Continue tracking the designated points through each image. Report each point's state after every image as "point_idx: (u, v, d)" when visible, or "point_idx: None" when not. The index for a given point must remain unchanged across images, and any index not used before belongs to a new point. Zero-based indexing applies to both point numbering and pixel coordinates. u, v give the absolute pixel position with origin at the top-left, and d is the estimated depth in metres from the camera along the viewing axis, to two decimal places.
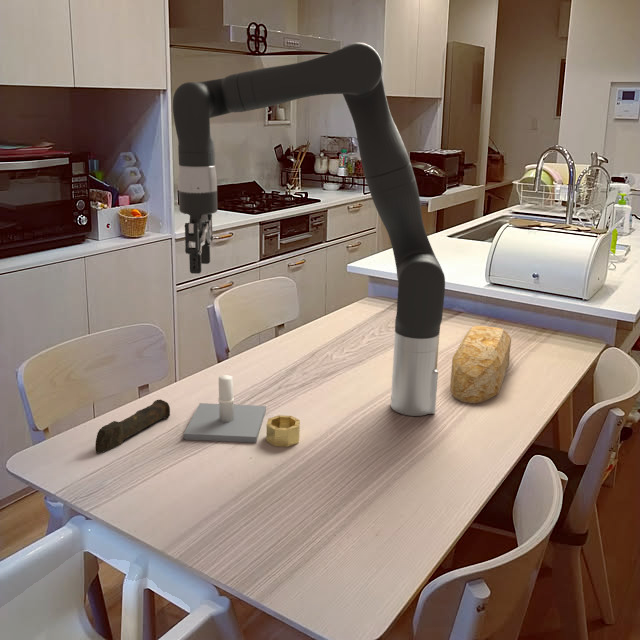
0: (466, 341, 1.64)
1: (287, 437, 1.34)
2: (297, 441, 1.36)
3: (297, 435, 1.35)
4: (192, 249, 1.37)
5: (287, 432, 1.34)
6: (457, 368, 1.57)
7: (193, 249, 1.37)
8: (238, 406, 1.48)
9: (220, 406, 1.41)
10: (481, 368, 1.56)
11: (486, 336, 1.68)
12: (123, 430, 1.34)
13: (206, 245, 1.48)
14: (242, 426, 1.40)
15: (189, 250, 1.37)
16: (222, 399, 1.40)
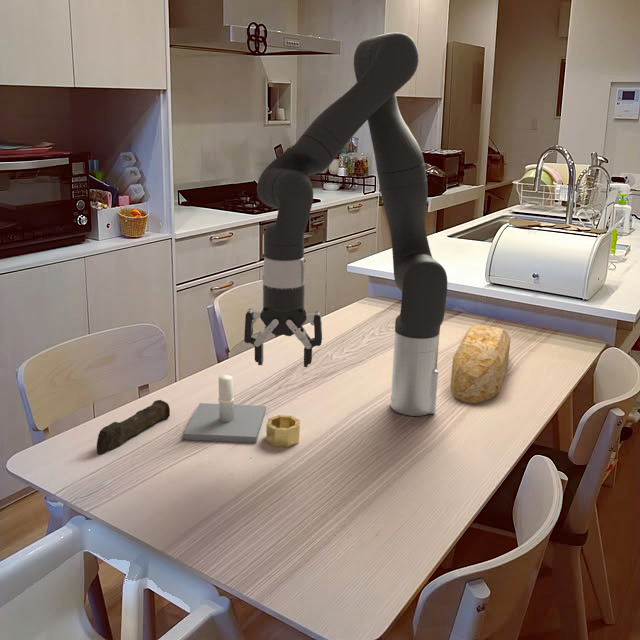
0: (466, 341, 1.64)
1: (287, 437, 1.34)
2: (297, 441, 1.36)
3: (297, 435, 1.35)
4: (321, 338, 1.31)
5: (287, 432, 1.34)
6: (458, 368, 1.57)
7: (321, 338, 1.31)
8: (238, 406, 1.48)
9: (220, 406, 1.41)
10: (482, 367, 1.56)
11: (486, 336, 1.68)
12: (124, 431, 1.34)
13: (262, 343, 1.32)
14: (242, 426, 1.40)
15: (321, 340, 1.30)
16: (222, 399, 1.40)
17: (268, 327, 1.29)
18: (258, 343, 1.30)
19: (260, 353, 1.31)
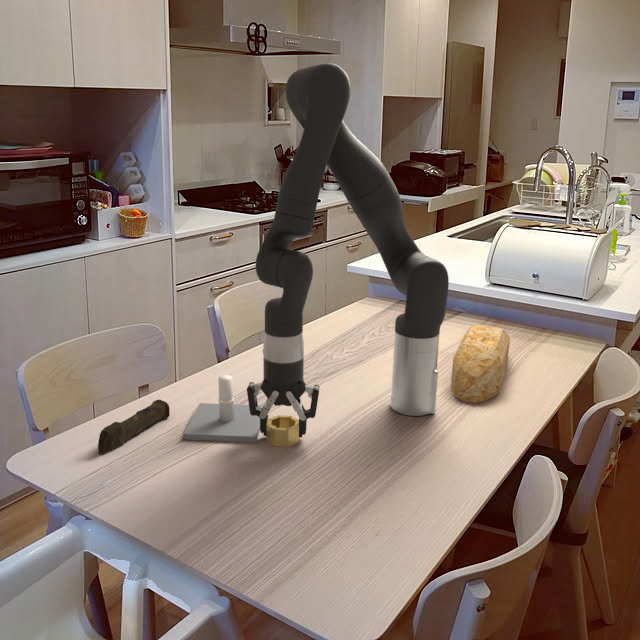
0: (466, 341, 1.64)
1: (287, 437, 1.34)
2: (297, 441, 1.36)
3: (297, 435, 1.35)
4: None
5: (287, 432, 1.34)
6: (458, 368, 1.57)
7: None
8: (238, 406, 1.48)
9: (220, 406, 1.41)
10: (483, 367, 1.56)
11: (486, 336, 1.68)
12: (125, 430, 1.34)
13: (267, 415, 1.37)
14: (242, 426, 1.40)
15: None
16: (222, 399, 1.40)
17: (270, 399, 1.33)
18: (263, 415, 1.35)
19: (265, 425, 1.36)
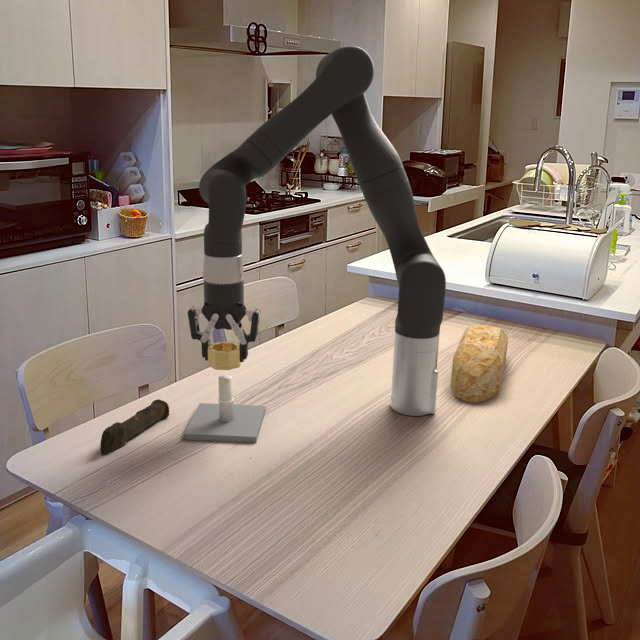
0: (466, 340, 1.65)
1: (227, 360, 1.35)
2: (238, 365, 1.37)
3: (238, 359, 1.37)
4: (255, 335, 1.37)
5: (227, 355, 1.35)
6: (459, 367, 1.58)
7: (256, 334, 1.37)
8: (238, 406, 1.48)
9: (220, 406, 1.41)
10: (483, 367, 1.56)
11: (485, 336, 1.68)
12: (126, 431, 1.34)
13: None
14: (242, 426, 1.40)
15: (255, 337, 1.36)
16: (222, 399, 1.40)
17: (210, 322, 1.35)
18: (204, 339, 1.36)
19: (207, 349, 1.37)
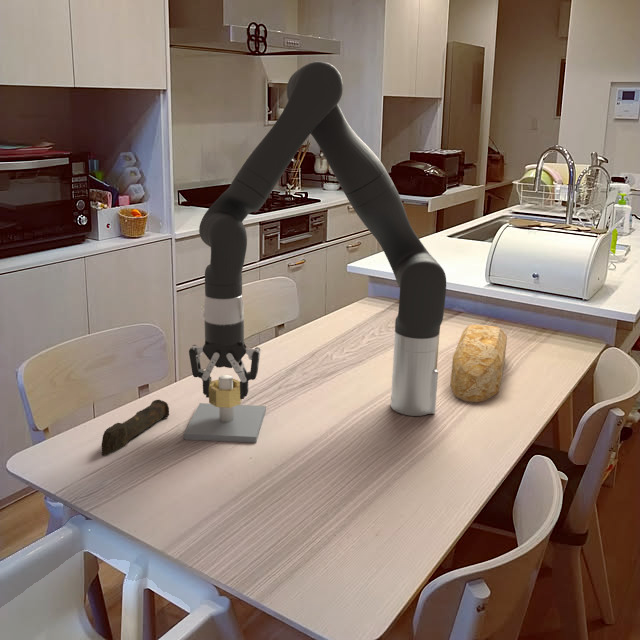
0: (465, 340, 1.65)
1: (228, 398, 1.38)
2: (238, 403, 1.40)
3: (238, 397, 1.39)
4: None
5: (228, 393, 1.37)
6: (459, 367, 1.58)
7: None
8: (238, 406, 1.48)
9: None
10: (483, 367, 1.56)
11: (484, 335, 1.68)
12: (127, 431, 1.33)
13: (210, 377, 1.40)
14: (242, 426, 1.40)
15: (256, 374, 1.39)
16: None
17: (211, 361, 1.37)
18: (205, 377, 1.39)
19: (208, 387, 1.39)
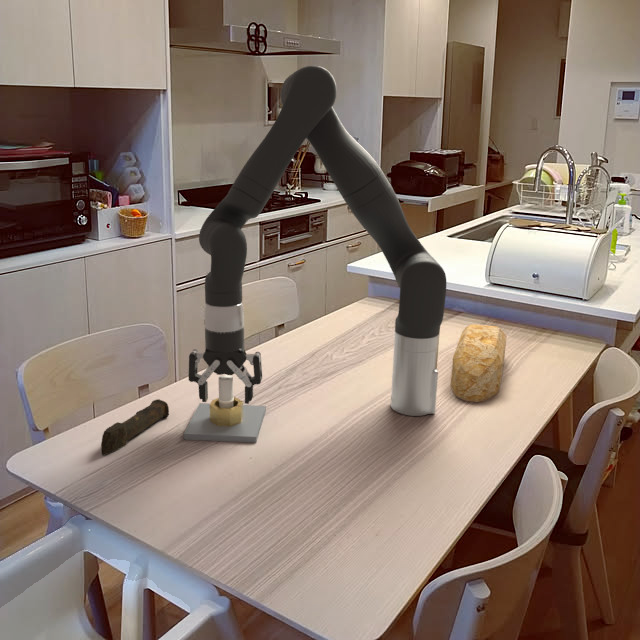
0: (465, 340, 1.65)
1: (229, 417, 1.39)
2: (239, 421, 1.41)
3: (239, 415, 1.40)
4: (260, 377, 1.39)
5: (229, 412, 1.38)
6: (459, 367, 1.58)
7: (260, 377, 1.39)
8: None
9: (220, 406, 1.41)
10: (483, 366, 1.57)
11: (484, 335, 1.68)
12: (127, 431, 1.33)
13: (206, 381, 1.41)
14: (242, 426, 1.40)
15: (260, 379, 1.39)
16: (222, 399, 1.40)
17: (210, 367, 1.37)
18: (201, 382, 1.39)
19: (204, 391, 1.40)
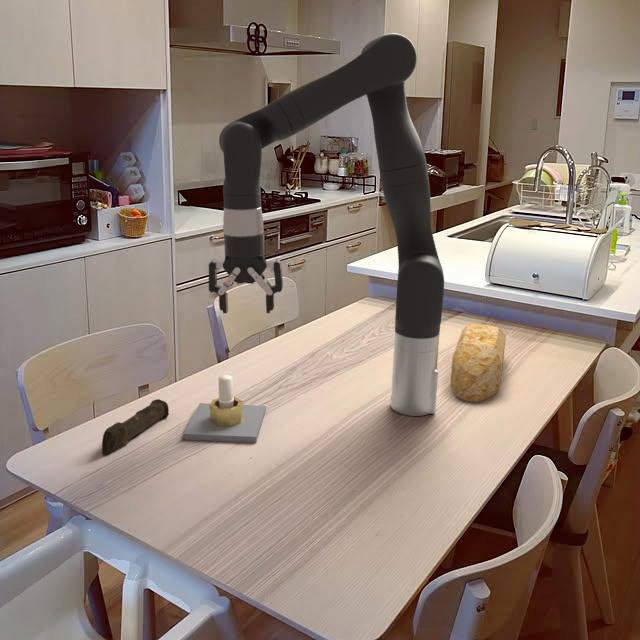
0: (465, 340, 1.65)
1: (229, 417, 1.39)
2: (239, 421, 1.41)
3: (239, 415, 1.40)
4: (281, 285, 1.38)
5: (229, 412, 1.38)
6: (459, 367, 1.58)
7: (281, 285, 1.38)
8: None
9: (220, 406, 1.41)
10: (483, 366, 1.57)
11: (484, 335, 1.69)
12: (127, 431, 1.33)
13: None
14: (242, 426, 1.40)
15: (281, 287, 1.37)
16: (222, 399, 1.40)
17: (230, 275, 1.36)
18: (222, 292, 1.37)
19: (224, 302, 1.38)
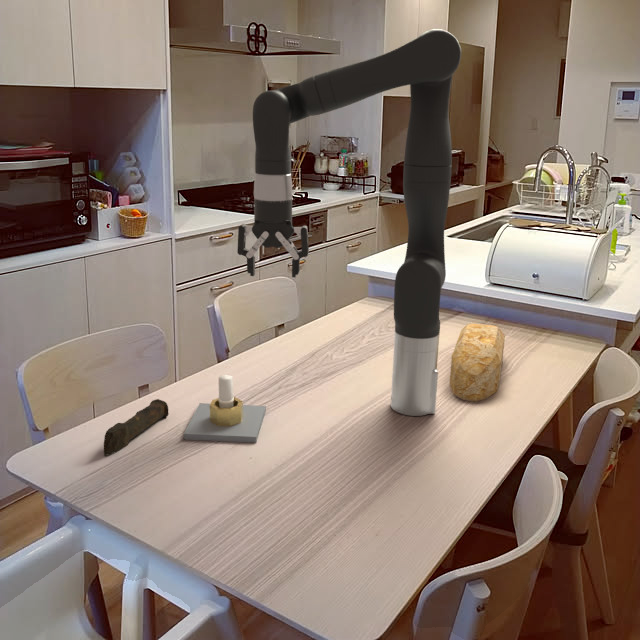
0: (464, 339, 1.65)
1: (229, 417, 1.39)
2: (239, 421, 1.41)
3: (239, 415, 1.40)
4: (307, 251, 1.43)
5: (229, 412, 1.38)
6: (458, 366, 1.58)
7: (307, 250, 1.43)
8: None
9: (220, 406, 1.41)
10: (482, 365, 1.57)
11: (483, 334, 1.69)
12: (128, 431, 1.33)
13: (253, 256, 1.45)
14: (242, 426, 1.40)
15: (307, 252, 1.43)
16: (222, 399, 1.40)
17: (259, 239, 1.41)
18: (250, 255, 1.43)
19: (252, 265, 1.43)
